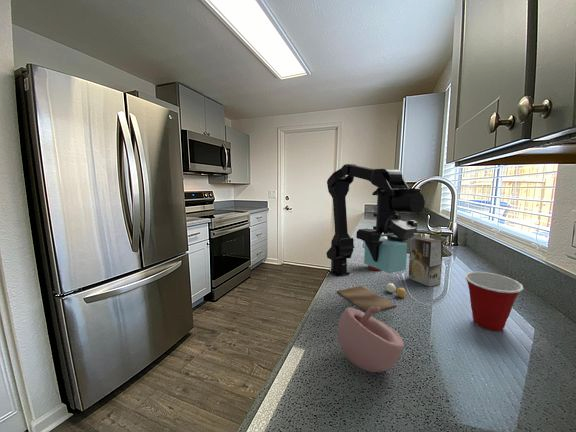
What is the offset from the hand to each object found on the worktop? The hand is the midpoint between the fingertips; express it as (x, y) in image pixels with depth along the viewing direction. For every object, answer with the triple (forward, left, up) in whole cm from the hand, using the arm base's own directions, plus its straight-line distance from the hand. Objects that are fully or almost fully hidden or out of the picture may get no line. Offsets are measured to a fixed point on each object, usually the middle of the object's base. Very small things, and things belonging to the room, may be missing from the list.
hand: (384, 260), depth 73 cm
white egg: (-1, +5, -12) cm, 13 cm away
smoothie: (-21, +18, -12) cm, 30 cm away
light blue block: (0, 0, -2) cm, 2 cm away
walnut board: (-1, -7, -12) cm, 14 cm away
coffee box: (-3, +24, -12) cm, 27 cm away
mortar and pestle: (+21, -25, -12) cm, 35 cm away
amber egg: (+3, +5, -12) cm, 13 cm away
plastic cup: (+23, +12, -12) cm, 28 cm away
